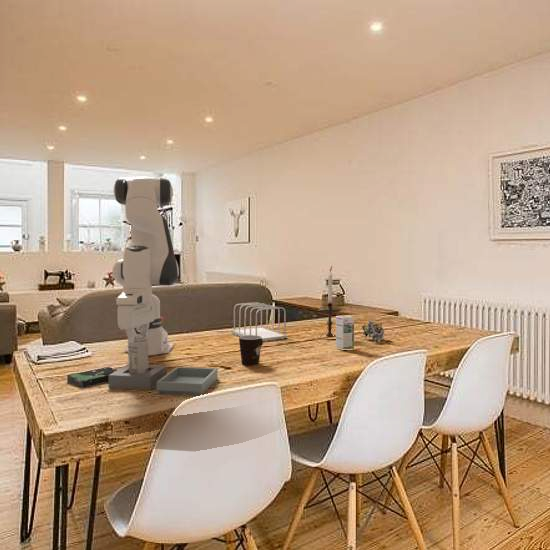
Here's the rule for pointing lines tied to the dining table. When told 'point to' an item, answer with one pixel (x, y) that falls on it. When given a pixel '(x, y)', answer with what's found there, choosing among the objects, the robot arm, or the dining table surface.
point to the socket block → (136, 378)
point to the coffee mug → (250, 349)
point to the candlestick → (329, 306)
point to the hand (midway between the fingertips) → (138, 339)
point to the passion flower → (374, 331)
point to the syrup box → (345, 332)
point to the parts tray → (187, 381)
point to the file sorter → (261, 331)
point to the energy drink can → (138, 355)
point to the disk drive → (91, 377)
